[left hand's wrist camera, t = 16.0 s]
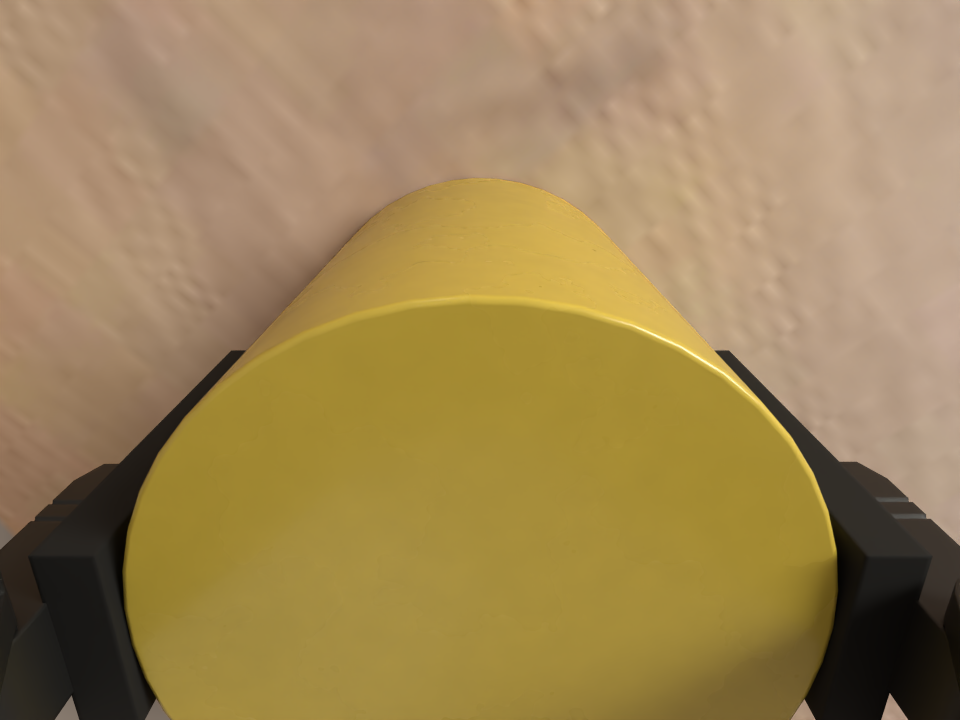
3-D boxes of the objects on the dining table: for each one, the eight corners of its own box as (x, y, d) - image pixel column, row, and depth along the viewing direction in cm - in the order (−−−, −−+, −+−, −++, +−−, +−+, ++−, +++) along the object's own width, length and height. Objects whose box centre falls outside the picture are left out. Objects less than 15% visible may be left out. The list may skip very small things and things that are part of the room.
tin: (361, 498, 20) (243, 890, 10) (281, 208, 16) (-8, 367, 7) (651, 457, 19) (828, 830, 9) (628, 150, 16) (861, 229, 6)
